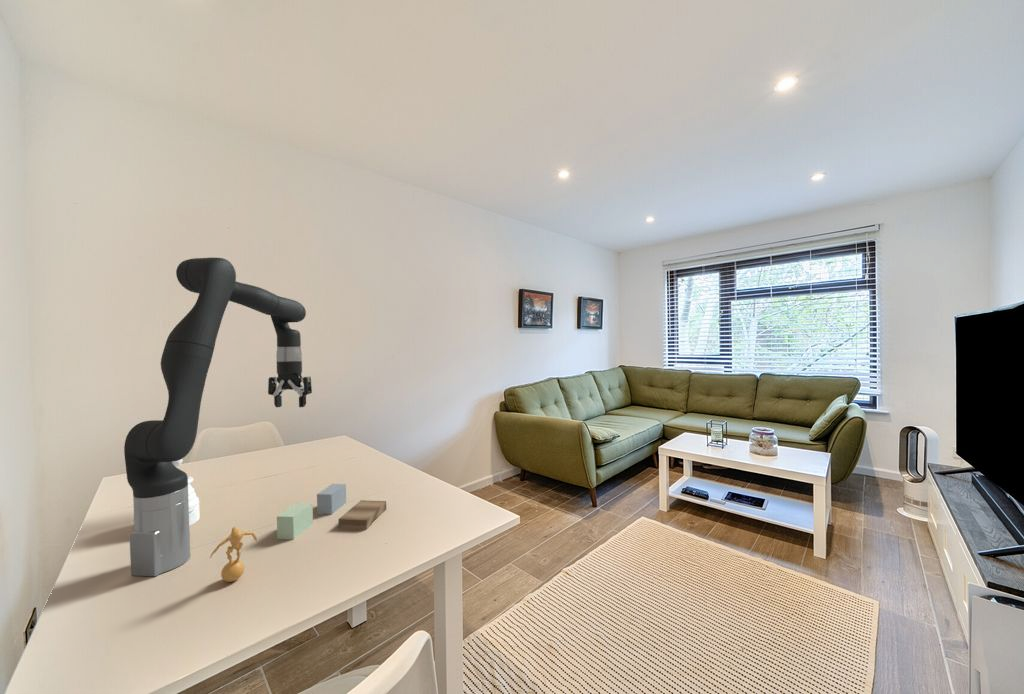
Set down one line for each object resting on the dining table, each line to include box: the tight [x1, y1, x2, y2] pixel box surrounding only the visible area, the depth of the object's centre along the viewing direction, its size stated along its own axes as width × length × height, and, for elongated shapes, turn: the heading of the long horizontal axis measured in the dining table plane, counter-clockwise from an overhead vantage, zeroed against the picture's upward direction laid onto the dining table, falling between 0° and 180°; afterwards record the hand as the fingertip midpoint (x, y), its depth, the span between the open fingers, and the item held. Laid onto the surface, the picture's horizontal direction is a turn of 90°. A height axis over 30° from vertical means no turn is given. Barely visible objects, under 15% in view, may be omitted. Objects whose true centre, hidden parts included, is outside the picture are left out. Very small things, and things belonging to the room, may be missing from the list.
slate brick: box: [316, 483, 347, 515], centre depth 115 cm, size 8×4×6 cm, turn 175°
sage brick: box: [276, 502, 314, 541], centre depth 101 cm, size 8×4×6 cm, turn 175°
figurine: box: [209, 526, 258, 583], centre depth 80 cm, size 8×6×12 cm
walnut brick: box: [338, 499, 387, 531], centre depth 108 cm, size 12×8×3 cm, turn 174°
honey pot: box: [172, 458, 201, 527], centre depth 106 cm, size 13×13×18 cm
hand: (290, 407), depth 129 cm, fingers open, 8 cm apart
